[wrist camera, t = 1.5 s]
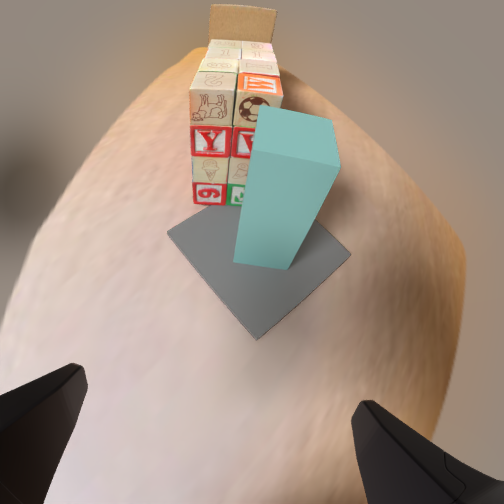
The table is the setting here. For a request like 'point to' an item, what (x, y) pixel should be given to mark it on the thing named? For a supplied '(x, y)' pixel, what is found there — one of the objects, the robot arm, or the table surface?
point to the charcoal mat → (254, 267)
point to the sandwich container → (241, 23)
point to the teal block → (284, 185)
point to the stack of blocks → (228, 116)
